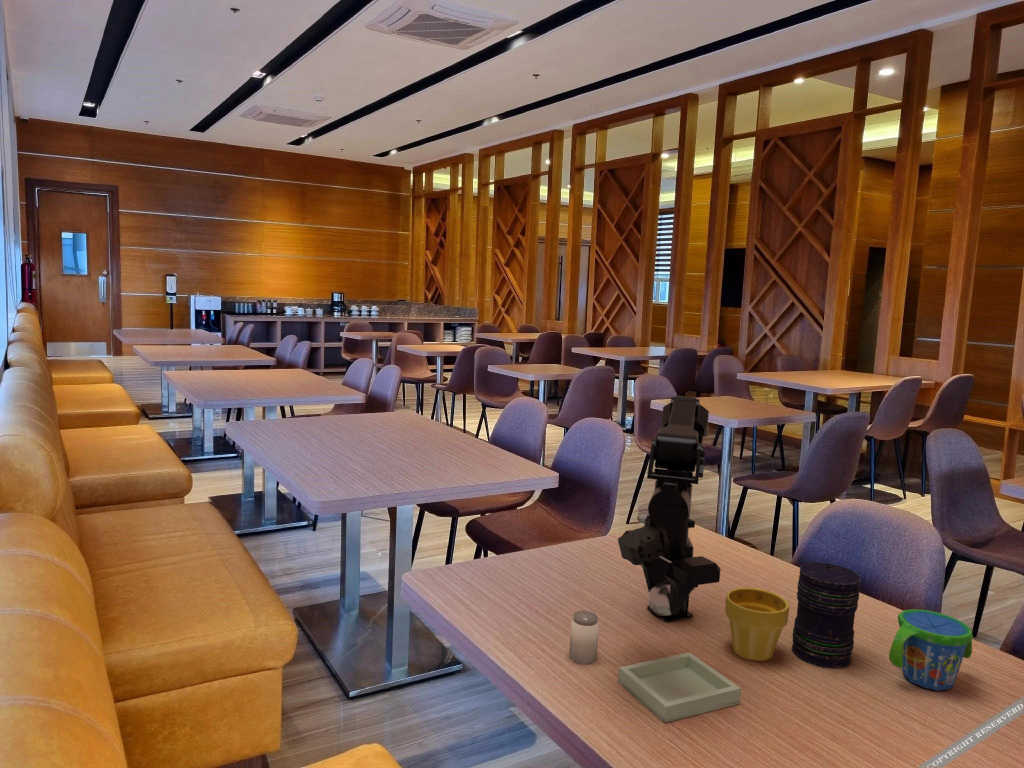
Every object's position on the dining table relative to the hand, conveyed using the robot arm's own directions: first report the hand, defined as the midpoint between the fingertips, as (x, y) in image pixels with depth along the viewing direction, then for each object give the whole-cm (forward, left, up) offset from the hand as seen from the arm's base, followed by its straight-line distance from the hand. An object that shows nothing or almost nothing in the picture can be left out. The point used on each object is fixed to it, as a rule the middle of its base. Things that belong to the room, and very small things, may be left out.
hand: (663, 607), depth 120 cm
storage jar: (-32, +4, -12) cm, 34 cm away
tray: (0, +5, -12) cm, 13 cm away
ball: (0, 0, -1) cm, 1 cm away
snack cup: (-42, +17, -12) cm, 47 cm away
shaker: (+8, -10, -12) cm, 17 cm away
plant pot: (-21, -1, -12) cm, 24 cm away
